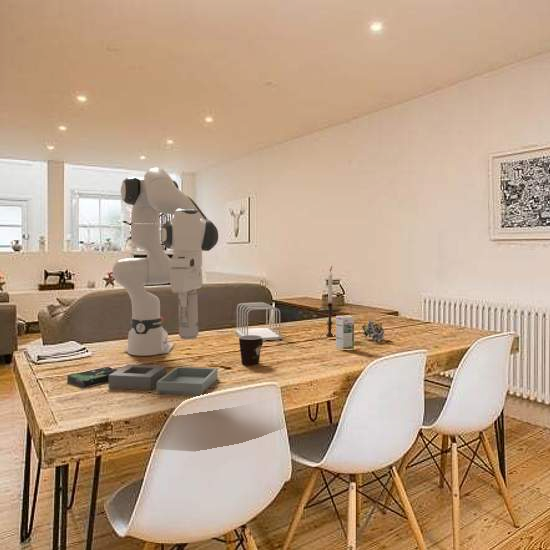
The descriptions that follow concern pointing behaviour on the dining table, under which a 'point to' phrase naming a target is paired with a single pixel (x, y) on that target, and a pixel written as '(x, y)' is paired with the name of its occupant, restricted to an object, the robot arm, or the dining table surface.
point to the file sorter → (263, 332)
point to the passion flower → (374, 331)
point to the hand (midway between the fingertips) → (188, 305)
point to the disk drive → (91, 377)
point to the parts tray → (187, 381)
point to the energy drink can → (188, 316)
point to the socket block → (137, 376)
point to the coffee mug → (250, 349)
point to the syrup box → (345, 332)
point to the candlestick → (329, 306)
